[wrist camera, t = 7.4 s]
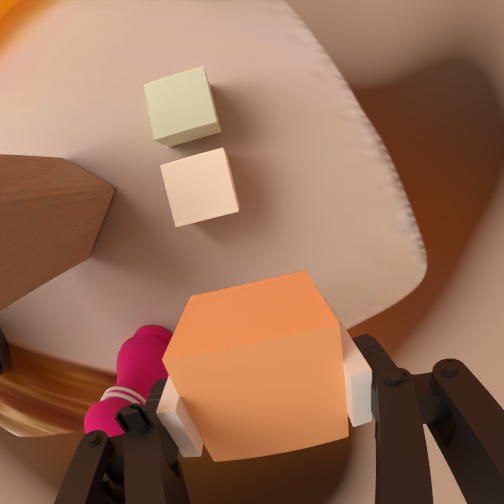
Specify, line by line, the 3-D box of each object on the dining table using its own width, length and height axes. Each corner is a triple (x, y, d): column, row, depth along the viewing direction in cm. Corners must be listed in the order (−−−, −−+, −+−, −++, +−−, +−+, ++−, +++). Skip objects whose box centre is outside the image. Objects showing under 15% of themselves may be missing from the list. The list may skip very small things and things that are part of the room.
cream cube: (187, 219, 33) (175, 227, 27) (174, 168, 31) (160, 165, 25) (239, 206, 32) (238, 211, 27) (227, 154, 31) (223, 147, 25)
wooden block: (61, 155, 30) (-61, 150, 11) (120, 187, 31) (-3, 200, 12) (38, 225, 32) (-75, 262, 12) (91, 260, 33) (-18, 328, 14)
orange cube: (221, 385, 16) (214, 461, 11) (190, 296, 15) (161, 359, 9) (320, 364, 16) (348, 436, 10) (304, 270, 15) (339, 323, 9)
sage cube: (169, 147, 31) (154, 140, 25) (159, 99, 29) (143, 84, 24) (221, 132, 31) (216, 121, 25) (210, 85, 29) (203, 66, 23)
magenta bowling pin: (146, 310, 35) (74, 418, 15) (192, 343, 36) (158, 469, 17) (122, 345, 36) (55, 450, 17) (165, 375, 37) (124, 492, 18)
